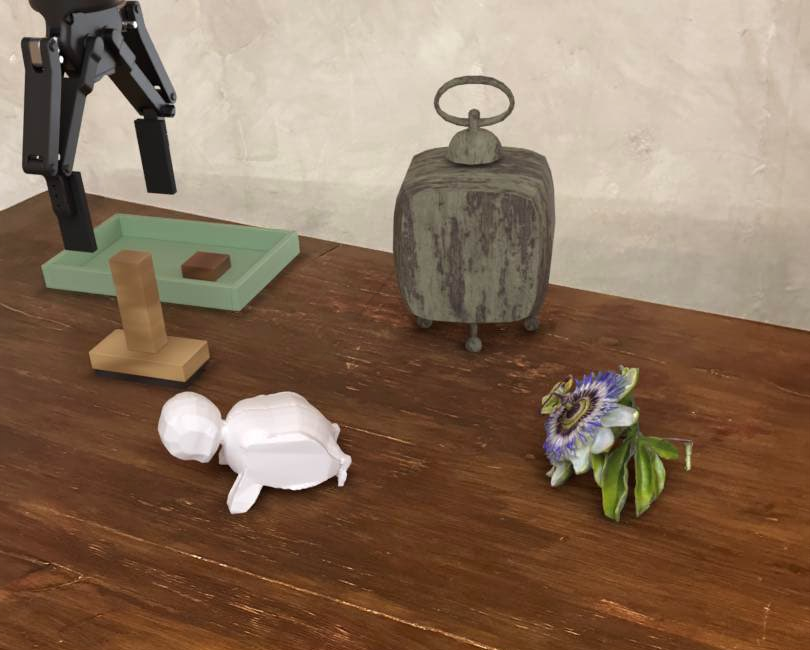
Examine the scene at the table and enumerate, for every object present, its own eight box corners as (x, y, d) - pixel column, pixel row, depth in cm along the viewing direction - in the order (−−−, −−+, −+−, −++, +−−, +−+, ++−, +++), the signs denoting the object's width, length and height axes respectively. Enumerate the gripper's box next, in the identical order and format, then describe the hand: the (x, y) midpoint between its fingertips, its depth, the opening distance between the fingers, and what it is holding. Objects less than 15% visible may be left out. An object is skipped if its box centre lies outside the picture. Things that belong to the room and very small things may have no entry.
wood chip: (182, 278, 124) (180, 265, 123) (199, 263, 127) (197, 250, 126) (215, 281, 122) (213, 268, 122) (231, 267, 125) (229, 254, 125)
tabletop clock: (551, 324, 113) (561, 62, 98) (547, 367, 106) (557, 92, 91) (408, 320, 115) (397, 63, 100) (395, 363, 108) (380, 93, 93)
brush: (94, 380, 108) (66, 261, 100) (122, 356, 111) (96, 240, 104) (187, 393, 105) (165, 272, 97) (212, 368, 108) (192, 250, 101)
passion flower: (555, 531, 94) (519, 392, 94) (682, 498, 94) (646, 358, 93) (571, 538, 83) (530, 380, 82) (715, 500, 83) (675, 341, 82)
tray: (47, 293, 124) (40, 265, 122) (121, 239, 135) (116, 212, 133) (240, 317, 117) (236, 288, 115) (300, 258, 129) (297, 230, 127)
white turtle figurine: (316, 474, 98) (143, 446, 93) (344, 389, 94) (165, 355, 88) (334, 530, 92) (149, 504, 86) (365, 442, 87) (173, 408, 82)
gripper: (12, -14, 75) (82, 282, 88) (189, -78, 94) (226, 174, 107) (-79, -16, 78) (2, 273, 90) (111, -78, 96) (157, 169, 109)
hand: (124, 220), depth 99 cm, fingers open, 13 cm apart
